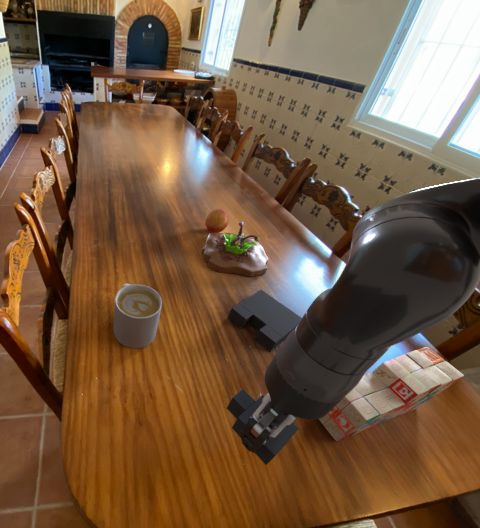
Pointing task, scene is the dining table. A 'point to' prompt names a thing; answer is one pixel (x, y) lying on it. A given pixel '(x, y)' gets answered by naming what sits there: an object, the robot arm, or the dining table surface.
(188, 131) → the dining table surface
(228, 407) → the pad
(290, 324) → the notch pad
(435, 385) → the stack of blocks
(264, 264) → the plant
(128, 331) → the coffee mug
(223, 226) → the fruit
